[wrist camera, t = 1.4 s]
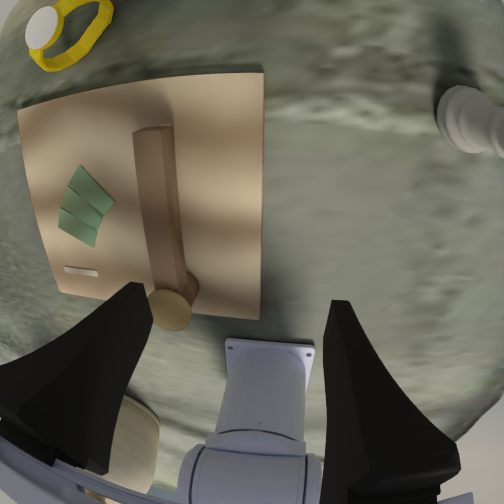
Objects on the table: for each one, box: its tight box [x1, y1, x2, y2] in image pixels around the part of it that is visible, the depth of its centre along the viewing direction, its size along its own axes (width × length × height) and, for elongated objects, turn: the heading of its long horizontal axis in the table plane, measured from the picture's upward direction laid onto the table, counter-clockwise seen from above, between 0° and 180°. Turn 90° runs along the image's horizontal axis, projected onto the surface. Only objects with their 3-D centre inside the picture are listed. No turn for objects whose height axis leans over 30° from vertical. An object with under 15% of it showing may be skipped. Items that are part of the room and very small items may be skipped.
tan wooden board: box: [17, 73, 265, 320], centre depth 22 cm, size 18×20×1 cm
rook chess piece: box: [437, 85, 504, 159], centre depth 12 cm, size 4×4×8 cm
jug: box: [76, 394, 160, 504], centre depth 29 cm, size 15×16×25 cm
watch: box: [25, 0, 114, 71], centre depth 13 cm, size 6×3×6 cm, turn 134°
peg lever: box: [132, 126, 199, 331], centre depth 20 cm, size 14×3×4 cm, turn 0°
